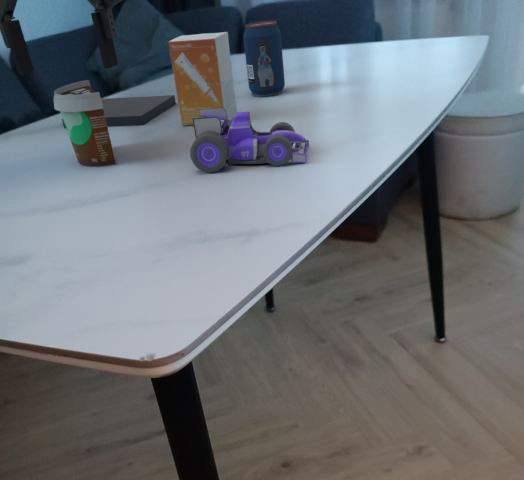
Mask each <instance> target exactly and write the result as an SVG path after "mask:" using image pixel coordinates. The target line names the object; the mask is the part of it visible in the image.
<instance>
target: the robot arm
mask: <svg viewBox="0 0 524 480" xmlns="http://www.w3.org/2000/svg"><path fill="white" fill-rule="evenodd" d="M87 2H88V3H89V4H90V5H91V6H92V7H93V8H94V9H93V12H91V13H90V16H91V21H92V24H93V28H94V29H93V30H94V33H95V37H96V41H97V45H98V49H99V54H100V57H101V61H102V67H103V69H105V70H106V69H110V68H113V67H115V66H118V65H119V61H118V56H117V52H116V47H115V44H114V38H116V37H117V33H118V32H117V28H116V24H115V20H114V14H113V8H114V7H115V6H116V5H117V4H119V3H121V2H123V0H87ZM17 3H18V0H0V34H1V36H2V40H3V43H4V46H5V47H6V49H10V52H11V56H12V59H13V62H14V65H15V68H16V71H17V75H18V76H24V75H27V74H30V73H33V72H35V69H34V66H33V62H32V59H31V56H30V52H29V49H28V45H27V42H26V39H25V36H24V33H23V29H22V26H21V22H20V20H19V19H16V17H15V16H14V13H15V10H16V6H17Z"/></svg>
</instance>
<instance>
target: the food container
mask: <svg viewBox="0 0 524 480" xmlns="http://www.w3.org/2000/svg"><path fill="white" fill-rule="evenodd" d="M53 93H54V95H53V107H54V110H55V111H57V112H60V115H61V117H62V118H61V119H63V121H64V123H65V126H66V128H65V129H66V132H67V135H68V137H69V140H70V143H71V146H72V148H73V151H74V154H75V157H76V159H77V162H78V164H79V165H81V166H82V167H83V166H84V167H105V166H112V165H117V161H116V157H115V152H114V149H113V144H112V140H111V136H110V133H109V127H107V123H106V119H105V115H104V110H103V105H102V101H101V99H102V98H101V95H100V92H99V91H95V90H94V88H92V86H91V83H90V79H85V80H80V81H77V82H72V83H69V84H66V85H63V86H60V87H58V88H56V89H55V90H54V91H53ZM63 121H62V122H63Z"/></svg>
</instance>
